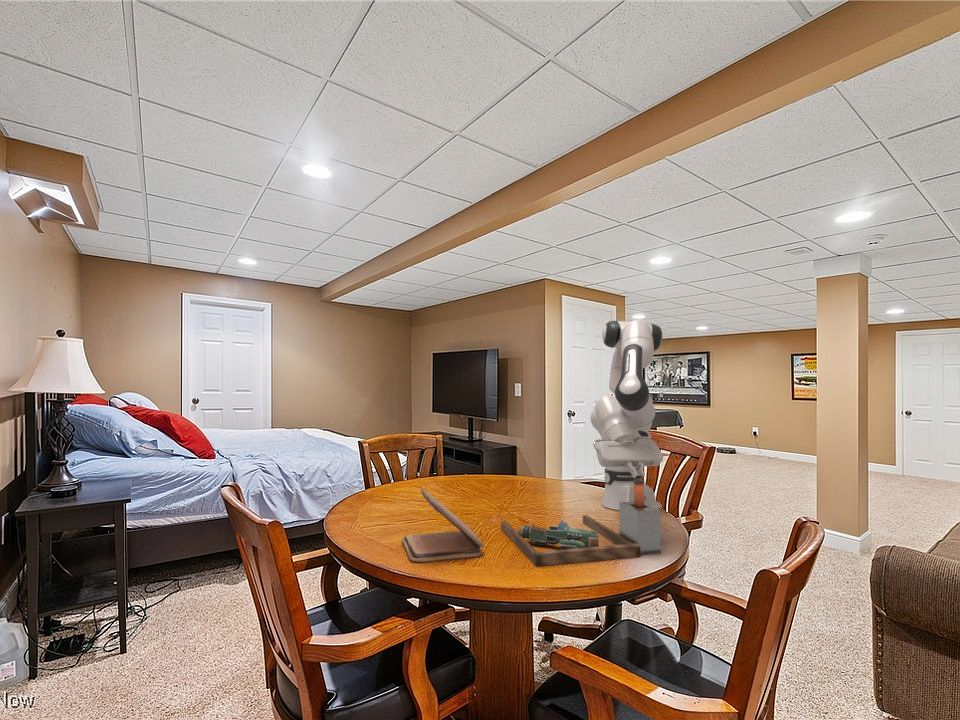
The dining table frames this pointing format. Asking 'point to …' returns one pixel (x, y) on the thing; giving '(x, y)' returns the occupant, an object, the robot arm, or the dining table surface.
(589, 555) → the brown flat square frame
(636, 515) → the grey holder box
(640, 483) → the orange and black cylinder
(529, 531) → the hoverbike
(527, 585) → the dining table surface
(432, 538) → the case
